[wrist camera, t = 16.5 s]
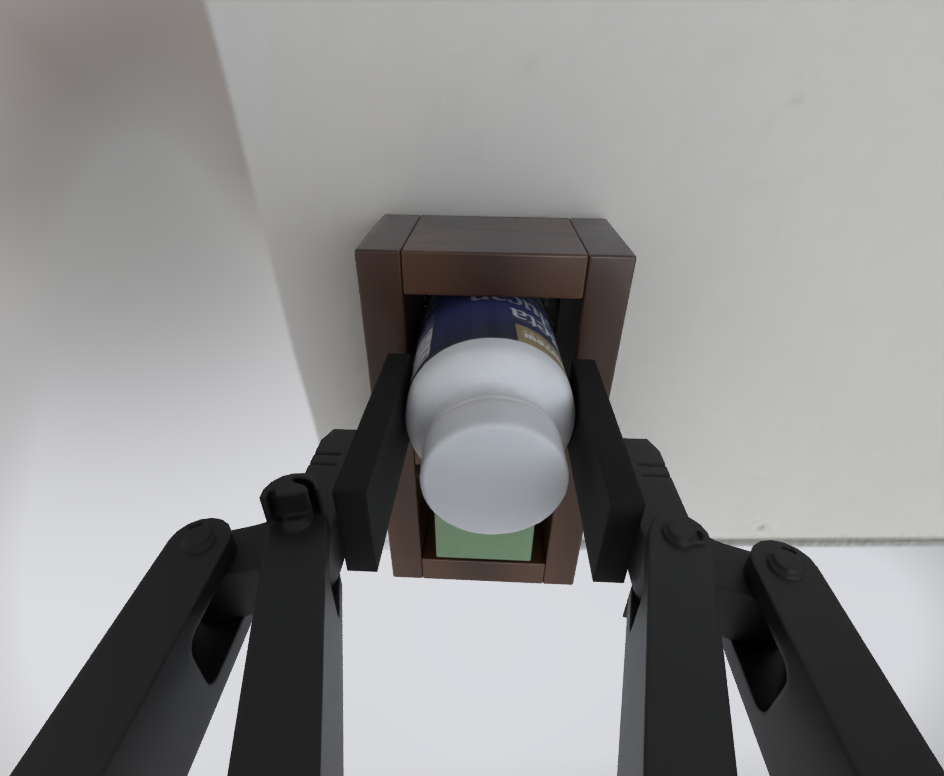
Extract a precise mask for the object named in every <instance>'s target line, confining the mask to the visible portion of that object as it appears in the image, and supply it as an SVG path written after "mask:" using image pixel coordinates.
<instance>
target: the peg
mask: <svg viewBox="0 0 944 776" xmlns="http://www.w3.org/2000/svg"><path fill="white" fill-rule="evenodd" d="M434 514H435V513H434ZM534 526H535V525H533V526H531V527H529V528H526V529H524V530H520V531H517V532H513V533H506V534H479V533H473V532H468V531H465V530H462V529H460V528H457V527H455V526H453V525H451V524H449V523H447V522H445V521H444V520H443V519H441V518H440V517H439V516H438V515H436V514H435V536H436V556H437V557H452V558H475V559H498V560H521V561H530V560H531V552H532V543H533V535H534Z"/></svg>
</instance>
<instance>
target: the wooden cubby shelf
mask: <svg viewBox="0 0 944 776" xmlns="http://www.w3.org/2000/svg"><path fill="white" fill-rule="evenodd" d="M354 252H355V260H356V268H357V277H358V285H359V293H360V302H361V310H362V318H363V327H364V335H365V343H366V352H367V360H368V368H369V377H370V385H371V393H372V392H373V389H374V387H375V384H376V382H377V379H378V377H379V374H380V372H381V369H382V367H383V364H384V362H385V360H386V357H387V355H388V353H396V354H410V357H411V372H413V367H414V362H415V356H416V351H417V346H418V341H419V336H420V330H421V325H422V320H423V316H424V313H425V300H424V295H452V296H490V297H528V298H560V307H559V315H558V324H557V333H556V344H557V347H558V350H559V353H560V356H561V359H562V362H563V366H564V368H565V371H566V374H567V377H568V380H569V378H570V371H571V363H572V359H592V360H595V361H596V364H597V367H598V370H599V373H600V375H601V378H602V381H603V384H604V387H605V390H606V392H607V395H608V398H609V396H610V391H611V386H612V381H613V375H614V370H615V365H616V360H617V355H618V350H619V345H620V339H621V334H622V329H623V324H624V319H625V314H626V309H627V304H628V298H629V293H630V288H631V283H632V278H633V273H634V268H635V262H636V256H635V254H634V253H633V252H632V251H631V249H630V248H629V247H628V246H627V245H626V243H625V242H624V241H623V240H622V238H621V237H620V236H619V235H618V233H617V232H616V231H615V230H614V228H613V227H612V226H611V225H610V223H609V222H608V221H607V220H606V219H574V218H572V219H570V220H569V219H568V218H526V217H479V216H432V215H423V216H421V217H420V216H419V215H384V217H383V218H382V219H381V220H380V221H379V222H378V224H377V225H376V226H375V227H374V228H373V229H372V230H371V232H370V233H369V234H368V235H367V236H366V237H365V239H364V240H363V241H362V242H361V243H360V244H359V246H358V247H357V248H356V249H355V251H354ZM565 455H566V460H567V464H568V470H569V483H568V488H567V491H566V494H565V496H564V498H563V500H562V501H561V503H560V504H559V506H558V507H557V508H556V509H555V510H554V512H553V513H552V514H550V515H549V516H548V517H547V518H545V519H544V520H542V521H541V522H539V523H537V524H535V526H534V535H533V543H532V552H531V560H530V561H521V560H498V559H475V558H452V557H437V556H436V536H435V514H434V511H433V510H432V509H431V508H430V507H429V505H428V504H427V502H426V500H425V498H424V496H423V494H422V490H421V486H420V468H421V458H420V457H419V455H418V454H417V452H416V451H415V450H414V448H413V446H412V444H411V442H410V440H409V444H408V448H407V452H406V456H405V460H404V464H403V468H402V473H401V477H400V481H399V485H398V489H397V493H396V497H395V501H394V505H393V509H392V513H391V517H390V521H389V525H388V535H389V543H390V551H391V559H392V567H393V575H394V576H395V577H415V578H422V577H424V578H436V579H458V580H480V581H501V582H502V581H503V582H523V583H542V582H543V583H545V584H569V585H572V584H573V581H574V576H575V570H576V565H577V560H578V555H579V550H580V545H581V540H582V535H583V526H582V521H581V516H580V511H579V505H578V500H577V495H576V490H575V485H574V479H573V474H572V469H571V464H570V458H569V453H568V448H567V447H566V448H565Z"/></svg>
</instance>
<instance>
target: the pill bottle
mask: <svg viewBox="0 0 944 776" xmlns="http://www.w3.org/2000/svg"><path fill="white" fill-rule="evenodd" d="M575 413H576V410H575V402H574V397H573V393H572V390H571V386H570V383H569V380H568V377H567V374H566V371H565V368H564V366H563V362H562V359H561V356H560V353H559V350H558V347H557V344H556V341H555V337H554V334H553V331H552V328H551V325H550V322H549V318H548V315H547V313H546V310H545V308H544V305H543V303H542V301H541V299H540V298H528V297H490V296H452V295H433V296H432V297H431V299H430V301H429V303H428V305H427V307H426V310H425V313H424V316H423V320H422V325H421V330H420V336H419V341H418V346H417V351H416V356H415V362H414V367H413V372H412V377H411V381H410V386H409V391H408V396H407V404H406V413H405V420H406V428H407V432H408V436H409V438H410V442H411V444H412V446H413V448H414V450H415V451H416V452H417V454H418V455H419V457H420V458H421V468H420V486H421V490H422V494H423V496H424V498H425V500H426V502H427V504H428V505H429V507H430V508H431V509H432V510H433V511H434V513H435V514H436V515H438V516H439V517H440V518H441V519H443V520H444V521H445V522H447V523H449V524H451V525H453V526H455V527H457V528H460V529H462V530H465V531H468V532H473V533H479V534H506V533H513V532H517V531H520V530H524V529H526V528H529V527H531V526H533V525H535V524H537V523H539V522H541V521H542V520H544V519H545V518H547V517H548V516H549V515H550V514H552V513H553V512H554V510H555V509H556V508H557V507H558V506H559V504H560V503H561V501H562V500H563V498H564V496H565V494H566V491H567V488H568V483H569V470H568V464H567V460H566V455H565V448H566V447H567V445H568V443H569V441H570V439H571V436H572V433H573V429H574V424H575Z"/></svg>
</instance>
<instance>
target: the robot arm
mask: <svg viewBox="0 0 944 776" xmlns="http://www.w3.org/2000/svg"><path fill="white" fill-rule="evenodd" d="M411 377H412V372H411V357H410V354H396V353H388V355H387V357H386V360H385V362H384V364H383V367H382V369H381V372H380V374H379V377H378V379H377V382H376V384H375V387H374V389H373V392H372V394H371V397H370V399H369V402H368V404H367V406H366V409H365V411H364V414H363V416H362V419H361V421H360V424H359V426H358V429H357V430H344V429H333V430H332V431H331V432H330V433H329V434H328V435H327V436H325V437H324V438H323V439H322V440H321V442H320V444H319V446H318V448H317V450H316V453H315V455H314V456H313V458H312V460H311V462H310V465H309V466H308V468H307V470H306V472H305V473H299V474H290V475H286V476H282V477H280V478H278V479H276V480H274V481H273V482H271V483H270V484H269V485H268V486H267V487H266V488H265V489H264V490H263V492H262V494H261V496H260V501H261V504H262V508H263V511H264V514H265V517H266V520H267V522H265V523H262V524H259V525H255V526H250V527H246V528H241V529H236V530H231V529H230V527H229V524H227V523H226V522H224V521H223V520H220V519H215V518H208V519H201V520H198V521H195V522H193V523H190V524H188V525H186V526H185V527H183V528H182V529H180V530H179V531H177V532H176V533H175V534H174V535H173V536H172V537H171V539H170V540H169V541H168V542H167V544H166V545H165V547H164V548H163V550H162V551H161V553H160V554H159V556H158V557H157V559H156V560H155V562H154V563H153V564H152V566H151V568H150V569H149V570H148V572H147V573H146V575H145V576H144V578H143V579H142V581H141V582H140V584H139V585H138V587H137V588H136V590H135V591H134V593H133V594H132V596H131V597H130V599H129V600H128V601H127V603H126V604H125V606H124V607H123V609H122V610H121V612H120V613H119V615H118V616H117V618H116V619H115V621H114V622H113V624H112V625H111V627H110V628H109V630H108V631H107V633H106V634H105V636H104V637H103V639H102V640H101V642H100V643H99V644H98V646H97V647H96V649H95V650H94V652H93V653H92V655H91V656H90V658H89V659H88V661H87V662H86V664H85V665H84V667H83V668H82V670H81V671H80V672H79V674H78V675H77V677H76V678H75V680H74V681H73V683H72V684H71V686H70V687H69V689H68V690H67V692H66V693H65V695H64V696H63V698H62V699H61V701H60V702H59V704H58V705H57V707H56V708H55V709H54V711H53V712H52V714H51V715H50V717H49V718H48V720H47V721H46V723H45V724H44V726H43V727H42V729H41V730H40V732H39V733H38V735H37V736H36V738H35V739H34V741H33V742H32V744H31V745H30V747H29V748H28V749H27V751H26V753H25V754H24V755H23V757H22V758H21V760H20V761H19V763H18V764H17V766H16V767H15V769H14V770H13V772H12V773H11V775H10V776H187V775H188V772H189V770H190V768H191V765H192V763H193V761H194V758H195V756H196V754H197V751H198V749H199V746H200V744H201V741H202V739H203V737H204V734H205V732H206V730H207V727H208V725H209V723H210V720H211V718H212V715H213V713H214V711H215V708H216V706H217V703H218V701H219V699H220V696H221V694H222V691H223V689H224V687H225V684H226V682H227V680H228V677H229V675H230V672H231V670H232V668H233V665H234V663H235V661H236V658H237V656H238V653H239V651H240V649H241V646H242V644H243V641H244V639H245V637H246V634H247V632H248V629H249V627H250V625H251V622H252V625H251V631H250V637H249V644H248V650H247V656H246V663H245V669H244V675H243V682H242V688H241V694H240V700H239V706H238V713H237V719H236V726H235V731H234V738H233V744H232V751H231V757H230V763H229V769H228V776H343V667H342V666H343V664H342V663H343V662H342V661H343V656H342V583H341V578H340V571H341V568H342V565H343V561H344V558H345V561H346V565H347V570H348V571H349V570H350V571H372V572H377V570H378V566H379V562H380V558H381V554H382V550H383V546H384V542H385V538H386V534H387V529H388V525H389V521H390V517H391V513H392V509H393V505H394V501H395V497H396V493H397V489H398V485H399V481H400V477H401V473H402V468H403V464H404V460H405V456H406V452H407V448H408V444H409V440H410V438H409V436H408V432H407V428H406V420H405V413H406V404H407V396H408V391H409V386H410V381H411ZM569 383H570V386H571V390H572V393H573V397H574V402H575V410H576V413H575V424H574V429H573V433H572V436H571V439H570V441H569V443H568V445H567V448H568V453H569V458H570V464H571V469H572V474H573V479H574V485H575V490H576V495H577V500H578V505H579V511H580V516H581V521H582V526H583V532H584V537H585V542H586V547H587V553H588V558H589V563H590V568H591V573H592V578H593V582H615V583H624V579H625V576H626V573H627V569H628V571H629V575H630V579H631V583H632V587H631V591H630V594H629V597H628V600H627V604H626V607H625V610H624V614H623V617H626V618H627V627H626V643H625V659H624V660H625V661H624V676H623V692H622V707H621V723H620V740H619V755H618V772H617V776H737V768H736V759H735V750H734V741H733V732H732V724H731V715H730V705H729V696H728V688H727V679H726V670H725V661H724V652H723V649H724V651H725V654H726V657H727V660H728V662H729V665H730V667H731V671H732V673H733V676H734V679H735V682H736V684H737V687H738V690H739V693H740V695H741V698H742V700H743V703H744V706H745V709H746V712H747V714H748V717H749V720H750V722H751V725H752V728H753V731H754V734H755V736H756V739H757V742H758V745H759V747H760V750H761V753H762V756H763V758H764V761H765V764H766V766H767V769H768V772H769V775H770V776H944V771H943V769H942V767H941V766H940V764H939V762H938V761H937V759H936V757H935V756H934V754H933V753H932V751H931V749H930V748H929V746H928V744H927V743H926V741H925V740H924V738H923V737H922V735H921V733H920V732H919V730H918V728H917V727H916V725H915V724H914V722H913V720H912V719H911V717H910V716H909V714H908V712H907V711H906V709H905V707H904V706H903V704H902V703H901V701H900V699H899V698H898V696H897V695H896V693H895V691H894V690H893V688H892V687H891V685H890V683H889V682H888V680H887V678H886V677H885V675H884V674H883V672H882V670H881V669H880V667H879V666H878V664H877V662H876V661H875V659H874V657H873V656H872V654H871V653H870V651H869V649H868V648H867V646H866V645H865V643H864V642H863V640H862V638H861V637H860V635H859V633H858V632H857V630H856V629H855V627H854V625H853V624H852V622H851V620H850V619H849V617H848V616H847V614H846V612H845V611H844V609H843V608H842V606H841V604H840V603H839V601H838V599H837V598H836V596H835V595H834V593H833V592H832V590H831V588H830V587H829V585H828V583H827V582H826V580H825V579H824V577H823V575H822V574H821V572H820V570H819V569H818V567H817V566H816V565H815V564H814V563H813V561H812V560H811V559H810V558H809V557H808V556H806V555H805V554H804V553H802V552H801V551H800V550H798V549H797V548H795V547H792V546H790V545H788V544H786V543H783V542H778V541H773V540H768V541H760V542H759V543H757V544H755V545H754V546H753V548H752V550H751V552H750V551H747V550H743V549H740V548H736V547H733V546H729V545H726V544H723V543H720V542H718V541H715V540H713V539H711V538H709V535H708V533H707V532H706V531H705V529H704V528H703V527H702V526H701V525H700V524H698V523H697V522H695V521H694V520H692V519H691V518H689V517H688V515H687V513H686V511H685V508H684V506H683V504H682V502H681V499H680V497H679V495H678V492H677V490H676V488H675V486H674V483H673V481H672V479H671V478H670V474H669V472H668V470H667V467H665V463H664V461H663V458H662V456H661V454H660V451H659V450H658V449H657V448H656V447H655V446H654V445H652V444H651V443H650V442H649V441H648V440H647V439H628V438H622V435H621V432H620V429H619V427H618V424H617V421H616V418H615V415H614V412H613V410H612V407H611V404H610V401H609V398H608V395H607V392H606V390H605V387H604V384H603V381H602V378H601V375H600V373H599V370H598V367H597V364H596V361H595V360H592V359H572V363H571V371H570V378H569Z"/></svg>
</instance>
